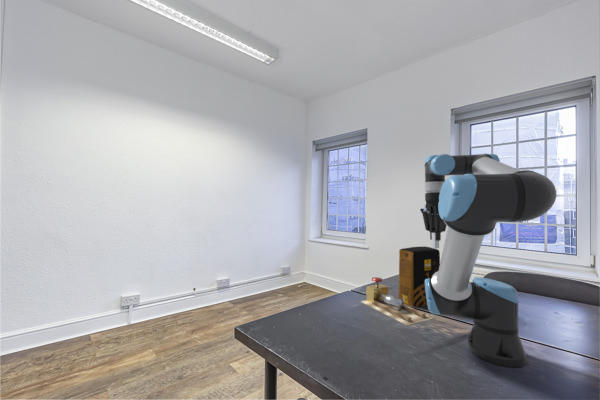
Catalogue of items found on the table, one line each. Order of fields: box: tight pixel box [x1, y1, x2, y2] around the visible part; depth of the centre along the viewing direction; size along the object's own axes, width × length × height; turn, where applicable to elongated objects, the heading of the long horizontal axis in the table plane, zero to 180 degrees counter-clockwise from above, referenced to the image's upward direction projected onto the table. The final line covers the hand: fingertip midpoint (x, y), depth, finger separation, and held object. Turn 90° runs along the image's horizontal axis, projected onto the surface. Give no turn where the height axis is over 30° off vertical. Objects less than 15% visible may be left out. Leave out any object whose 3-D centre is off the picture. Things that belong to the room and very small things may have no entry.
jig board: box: [360, 299, 435, 326], centre depth 115 cm, size 28×16×3 cm, turn 26°
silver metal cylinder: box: [379, 293, 405, 311], centre depth 117 cm, size 10×5×5 cm, turn 31°
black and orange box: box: [398, 246, 441, 308], centre depth 125 cm, size 11×19×28 cm, turn 112°
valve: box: [365, 276, 389, 303], centre depth 126 cm, size 8×9×11 cm
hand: (435, 248), depth 107 cm, fingers closed
